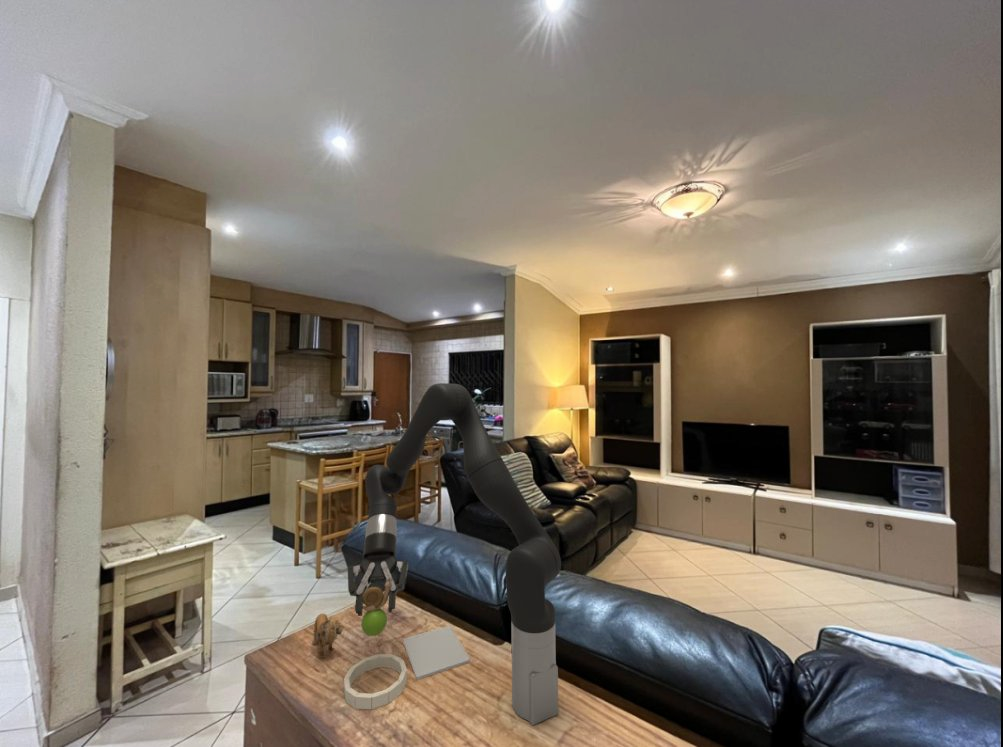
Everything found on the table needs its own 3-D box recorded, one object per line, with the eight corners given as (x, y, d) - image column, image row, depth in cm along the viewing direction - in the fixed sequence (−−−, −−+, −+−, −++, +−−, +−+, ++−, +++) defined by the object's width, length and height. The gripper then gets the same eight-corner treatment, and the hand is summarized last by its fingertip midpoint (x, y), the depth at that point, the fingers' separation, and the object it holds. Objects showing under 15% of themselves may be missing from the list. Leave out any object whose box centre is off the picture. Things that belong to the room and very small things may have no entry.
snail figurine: (392, 636, 87) (392, 581, 88) (362, 644, 85) (361, 587, 85) (390, 623, 92) (389, 571, 93) (361, 629, 90) (360, 576, 90)
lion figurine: (346, 655, 98) (346, 618, 98) (323, 666, 94) (324, 628, 95) (323, 629, 109) (323, 596, 109) (302, 638, 105) (302, 604, 105)
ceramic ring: (411, 695, 85) (411, 684, 85) (347, 718, 80) (347, 706, 80) (399, 658, 97) (399, 648, 97) (342, 675, 91) (342, 664, 91)
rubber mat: (470, 662, 95) (470, 659, 95) (416, 680, 90) (416, 677, 90) (450, 627, 109) (450, 625, 109) (402, 641, 103) (402, 638, 103)
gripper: (348, 533, 95) (337, 611, 83) (409, 528, 98) (408, 603, 86) (352, 546, 100) (343, 622, 88) (410, 541, 103) (409, 614, 91)
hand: (375, 612), depth 87 cm, fingers closed on snail figurine, 5 cm apart
